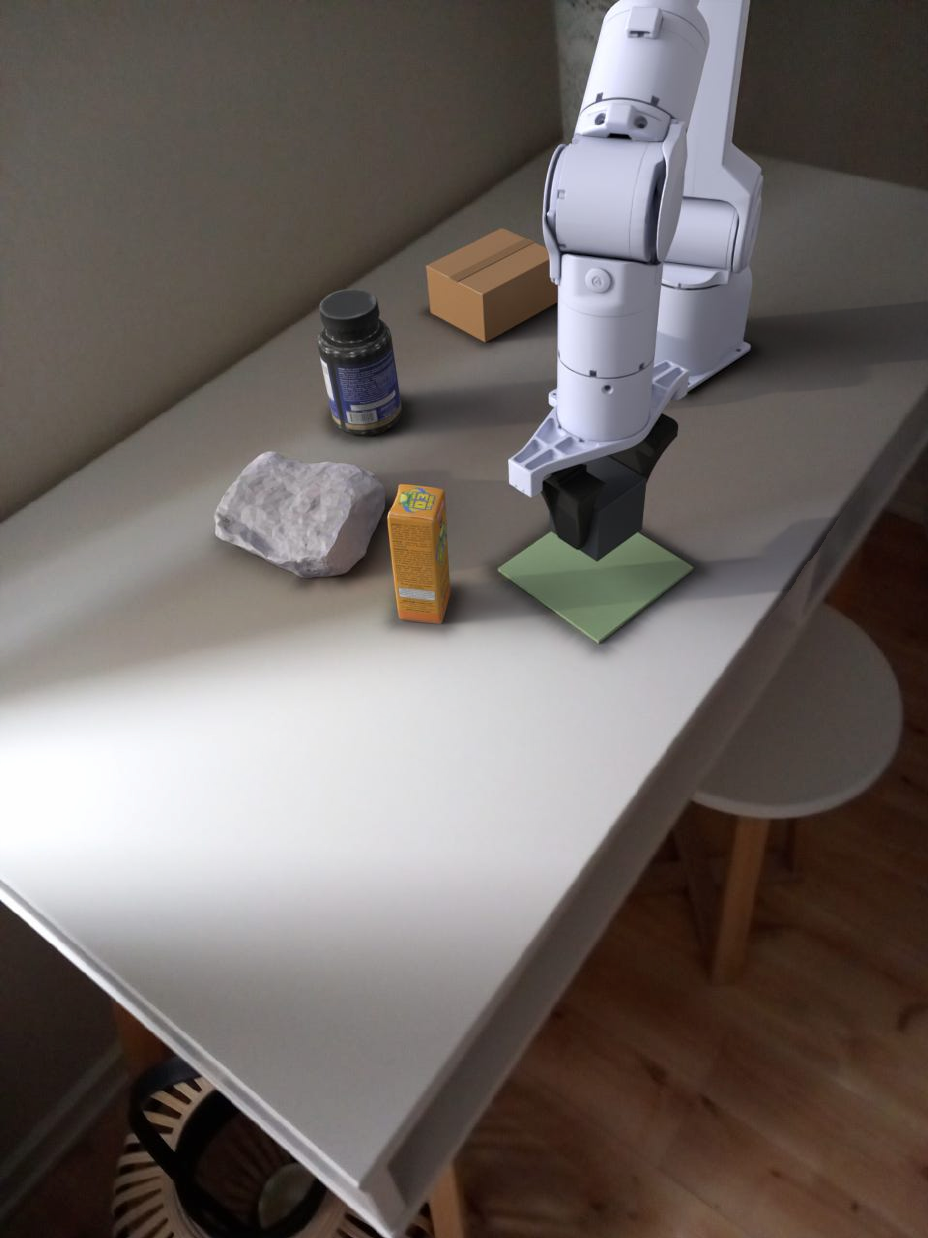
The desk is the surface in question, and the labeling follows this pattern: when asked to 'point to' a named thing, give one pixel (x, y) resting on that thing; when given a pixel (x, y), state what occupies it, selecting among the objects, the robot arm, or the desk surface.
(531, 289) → the storage box
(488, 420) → the desk surface
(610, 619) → the mat
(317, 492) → the stone block
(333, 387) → the pill bottle
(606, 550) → the small box
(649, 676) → the desk surface
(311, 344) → the desk surface
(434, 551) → the supplement box
